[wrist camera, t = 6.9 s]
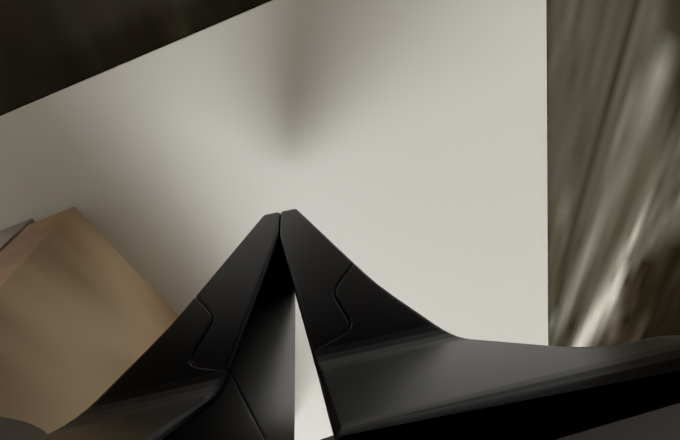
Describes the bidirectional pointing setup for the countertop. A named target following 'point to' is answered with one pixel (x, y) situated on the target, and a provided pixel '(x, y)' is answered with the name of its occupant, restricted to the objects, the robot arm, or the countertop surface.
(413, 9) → the white flat posted base
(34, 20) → the countertop surface
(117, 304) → the gate
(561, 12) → the countertop surface
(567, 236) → the countertop surface
